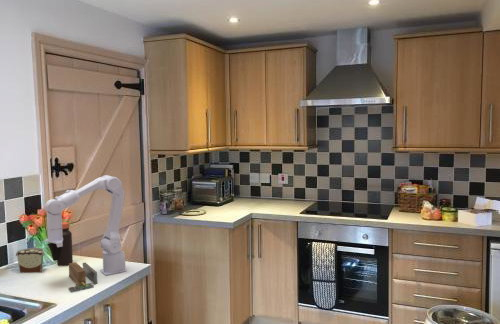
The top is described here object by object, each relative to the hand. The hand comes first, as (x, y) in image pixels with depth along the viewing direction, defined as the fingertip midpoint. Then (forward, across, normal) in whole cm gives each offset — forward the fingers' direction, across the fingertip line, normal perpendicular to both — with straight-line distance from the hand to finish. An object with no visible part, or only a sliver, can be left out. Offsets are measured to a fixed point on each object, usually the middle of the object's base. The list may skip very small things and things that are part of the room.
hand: (56, 259), depth 179 cm
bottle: (+11, -25, +10) cm, 29 cm away
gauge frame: (+10, +4, +8) cm, 14 cm away
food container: (+11, -24, -4) cm, 27 cm away
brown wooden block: (+10, +4, +8) cm, 13 cm away
